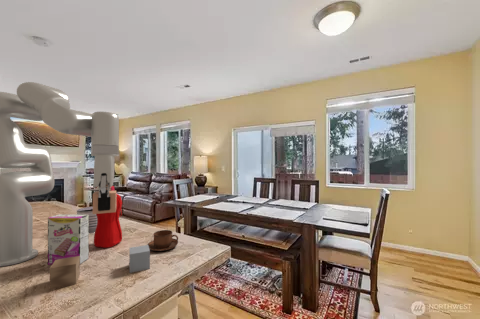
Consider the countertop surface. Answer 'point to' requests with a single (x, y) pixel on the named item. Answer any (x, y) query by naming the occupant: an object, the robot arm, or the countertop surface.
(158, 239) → the cup and saucer
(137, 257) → the slate grey block
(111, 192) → the terracotta block
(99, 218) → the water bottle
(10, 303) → the countertop surface
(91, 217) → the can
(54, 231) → the candy bar box
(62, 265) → the walnut block
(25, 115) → the robot arm
